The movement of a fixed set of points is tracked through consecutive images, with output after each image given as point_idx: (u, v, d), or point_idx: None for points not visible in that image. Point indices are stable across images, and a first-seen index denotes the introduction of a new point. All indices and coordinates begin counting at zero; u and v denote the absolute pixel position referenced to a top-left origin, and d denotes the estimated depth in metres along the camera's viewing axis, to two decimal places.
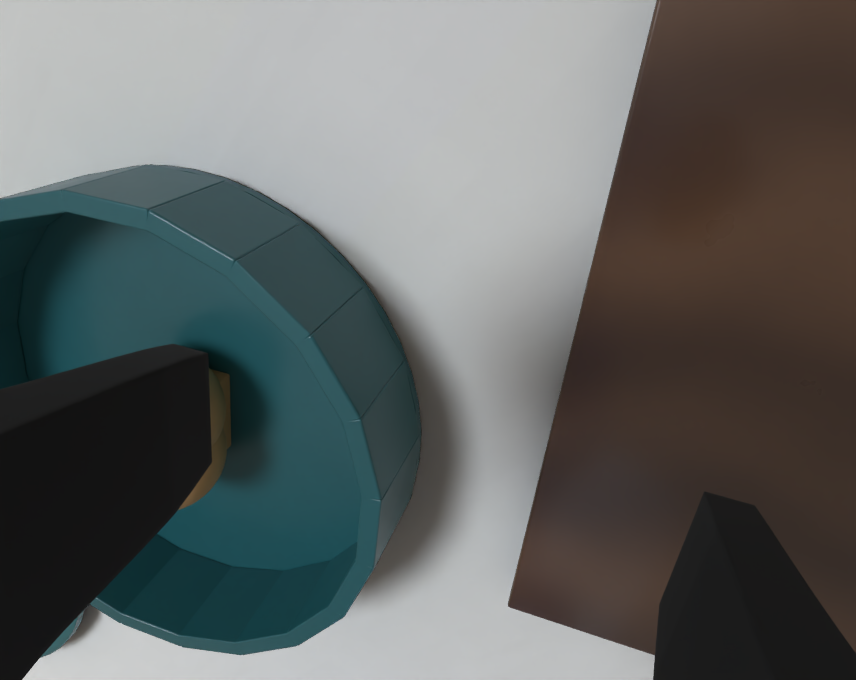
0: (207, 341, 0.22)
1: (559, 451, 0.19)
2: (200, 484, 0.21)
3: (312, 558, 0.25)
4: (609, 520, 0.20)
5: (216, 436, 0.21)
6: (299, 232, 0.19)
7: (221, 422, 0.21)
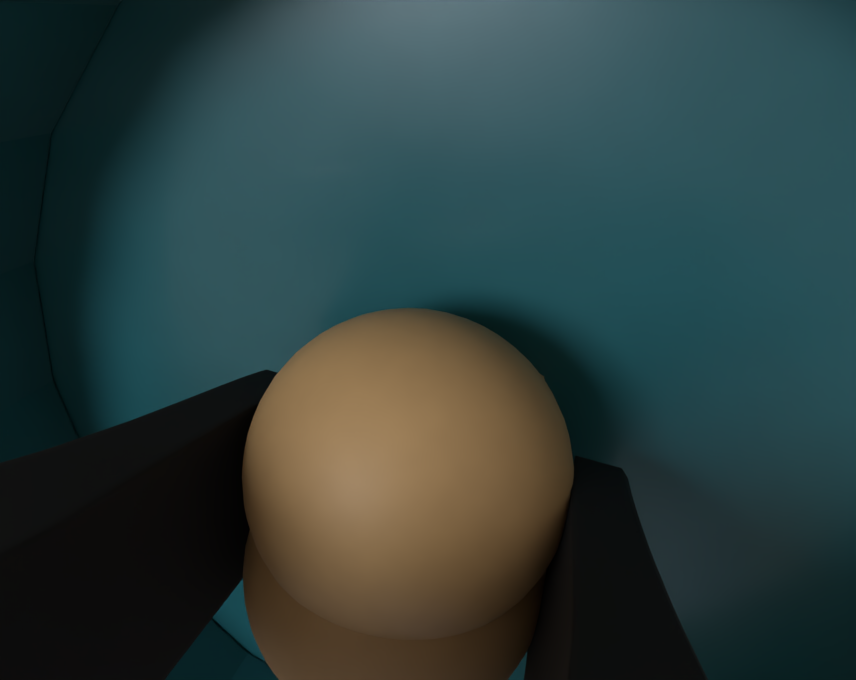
0: (501, 296, 0.09)
1: None
2: (517, 665, 0.08)
3: None
4: None
5: None
6: None
7: None
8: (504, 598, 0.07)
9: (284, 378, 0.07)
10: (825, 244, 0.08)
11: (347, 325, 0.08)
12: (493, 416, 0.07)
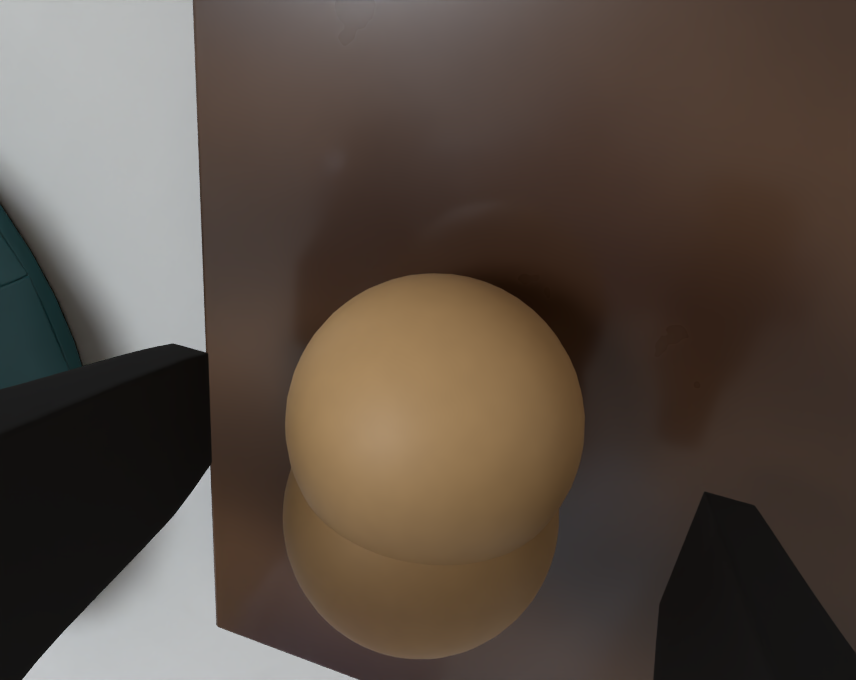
0: None
1: (223, 402, 0.13)
2: (533, 595, 0.09)
3: None
4: None
5: None
6: None
7: None
8: (524, 527, 0.08)
9: (325, 333, 0.08)
10: None
11: (380, 287, 0.09)
12: (514, 363, 0.08)
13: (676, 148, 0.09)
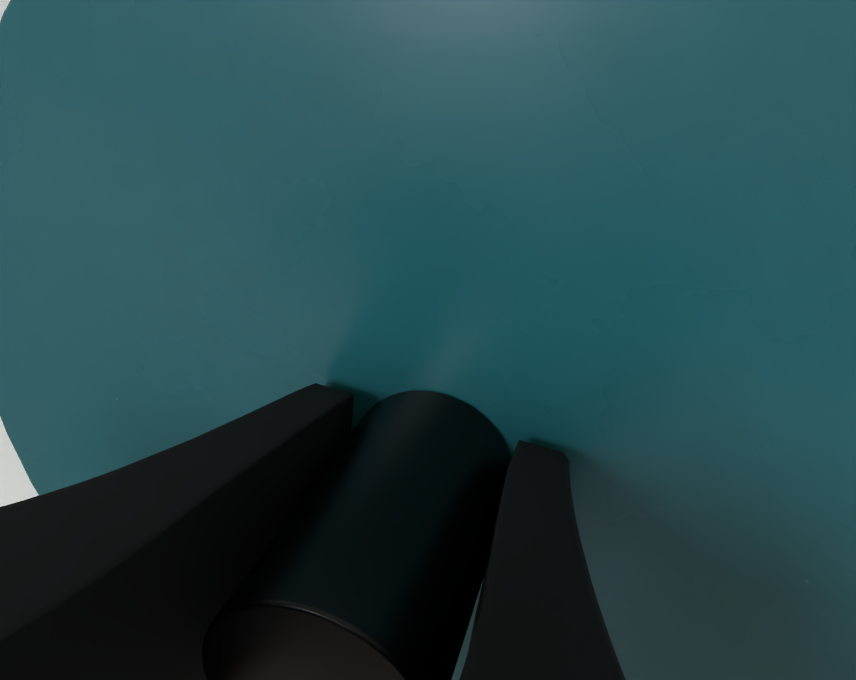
0: None
1: None
2: None
3: None
4: None
5: None
6: None
7: None
8: None
9: None
10: None
11: None
12: None
13: None
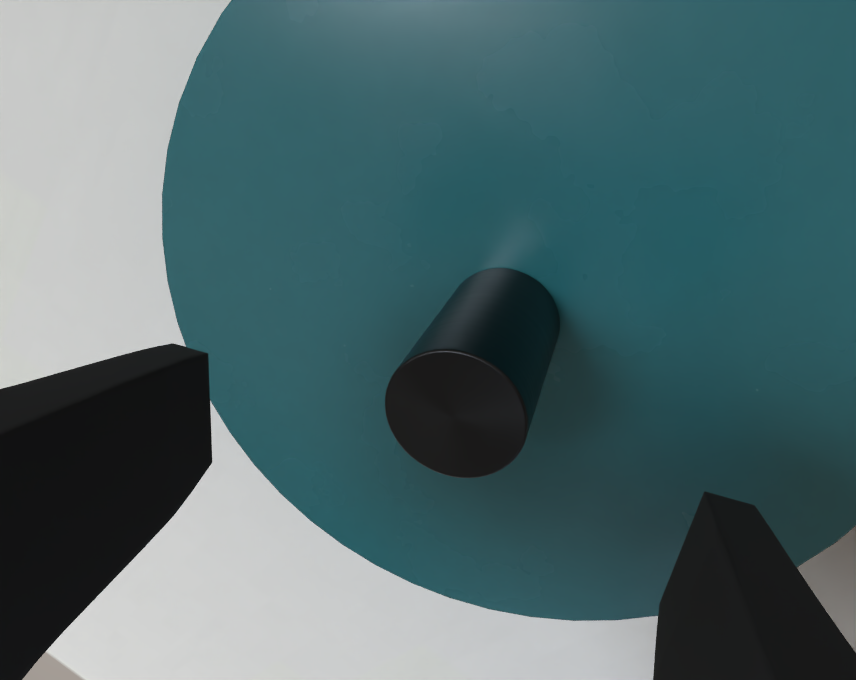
0: None
1: None
2: None
3: None
4: None
5: None
6: None
7: None
8: None
9: None
10: None
11: None
12: None
13: None
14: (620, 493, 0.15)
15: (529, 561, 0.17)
